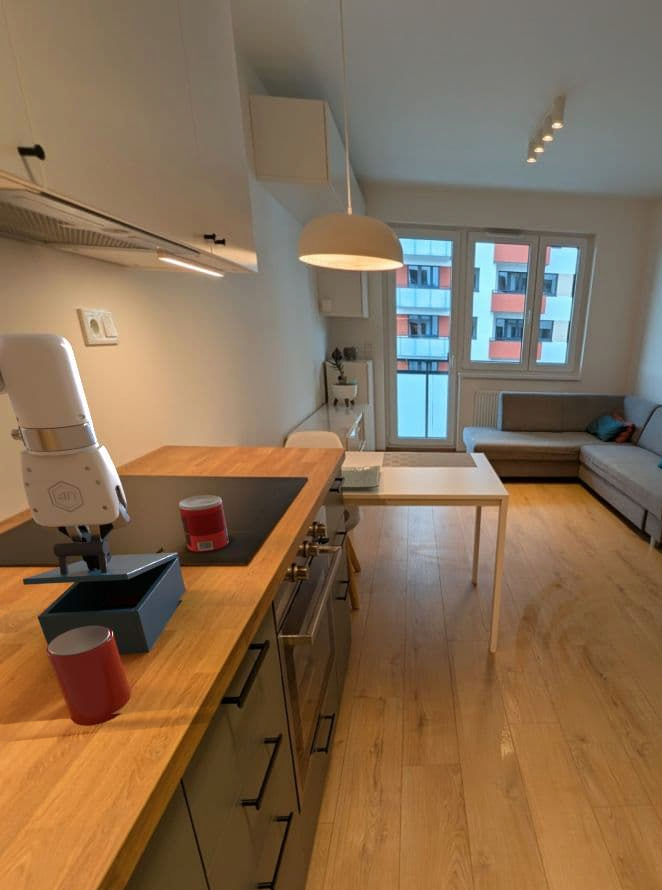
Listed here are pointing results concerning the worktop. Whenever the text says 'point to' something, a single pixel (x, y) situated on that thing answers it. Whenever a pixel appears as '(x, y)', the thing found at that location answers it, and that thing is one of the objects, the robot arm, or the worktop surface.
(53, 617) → the open box
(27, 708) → the worktop surface
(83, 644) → the can
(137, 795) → the worktop surface
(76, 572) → the lid
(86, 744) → the worktop surface
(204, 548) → the canned food
